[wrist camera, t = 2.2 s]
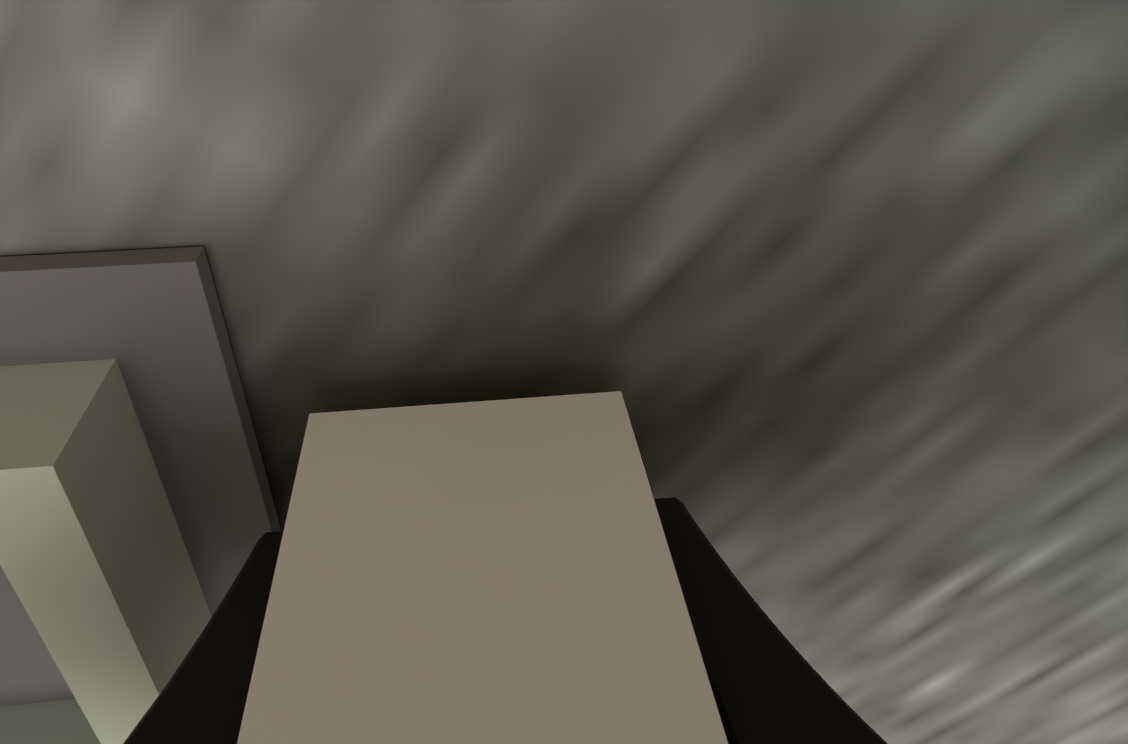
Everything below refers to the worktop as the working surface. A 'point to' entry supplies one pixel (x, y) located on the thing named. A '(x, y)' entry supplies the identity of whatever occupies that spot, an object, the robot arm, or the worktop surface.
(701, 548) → the robot arm
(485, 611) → the plug
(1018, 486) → the worktop surface
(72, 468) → the socket block
